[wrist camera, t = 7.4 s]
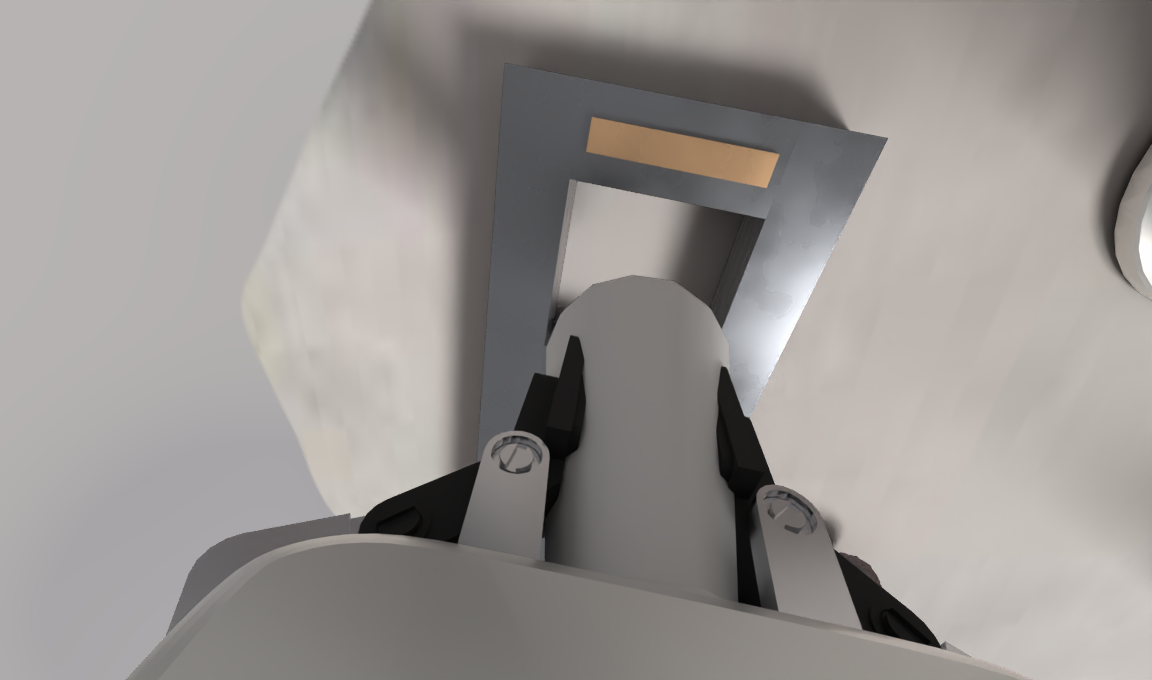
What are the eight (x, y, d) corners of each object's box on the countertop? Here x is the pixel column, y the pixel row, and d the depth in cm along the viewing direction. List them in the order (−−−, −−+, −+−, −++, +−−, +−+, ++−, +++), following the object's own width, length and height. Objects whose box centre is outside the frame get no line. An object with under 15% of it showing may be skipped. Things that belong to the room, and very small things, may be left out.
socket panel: (851, 132, 18) (892, 138, 15) (659, 556, 33) (661, 600, 30) (523, 68, 18) (502, 62, 15) (483, 517, 33) (469, 556, 30)
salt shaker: (550, 257, 15) (296, 739, 4) (719, 247, 14) (1076, 838, 3) (567, 391, 18) (454, 900, 6) (708, 391, 17) (865, 974, 6)
